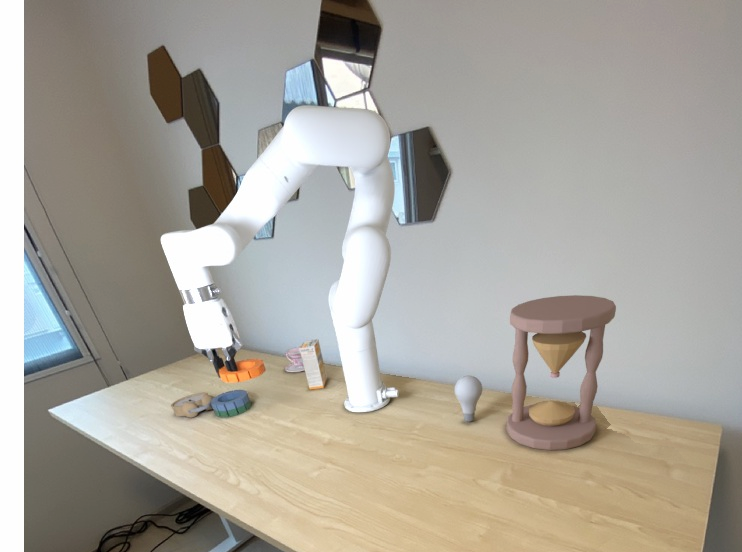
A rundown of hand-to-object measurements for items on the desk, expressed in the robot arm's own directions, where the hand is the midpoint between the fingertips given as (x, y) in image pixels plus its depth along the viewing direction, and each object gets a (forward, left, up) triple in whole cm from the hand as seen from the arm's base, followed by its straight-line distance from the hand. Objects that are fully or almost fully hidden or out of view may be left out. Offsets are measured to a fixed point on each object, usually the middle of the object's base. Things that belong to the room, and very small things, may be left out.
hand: (228, 374), depth 101 cm
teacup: (+3, -48, -16) cm, 50 cm away
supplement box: (-10, -30, -16) cm, 35 cm away
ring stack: (+12, -14, -15) cm, 24 cm away
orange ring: (-4, 0, 0) cm, 4 cm away
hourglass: (-75, +4, -16) cm, 77 cm away
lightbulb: (-58, -1, -16) cm, 60 cm away
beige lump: (+25, -14, -16) cm, 33 cm away
